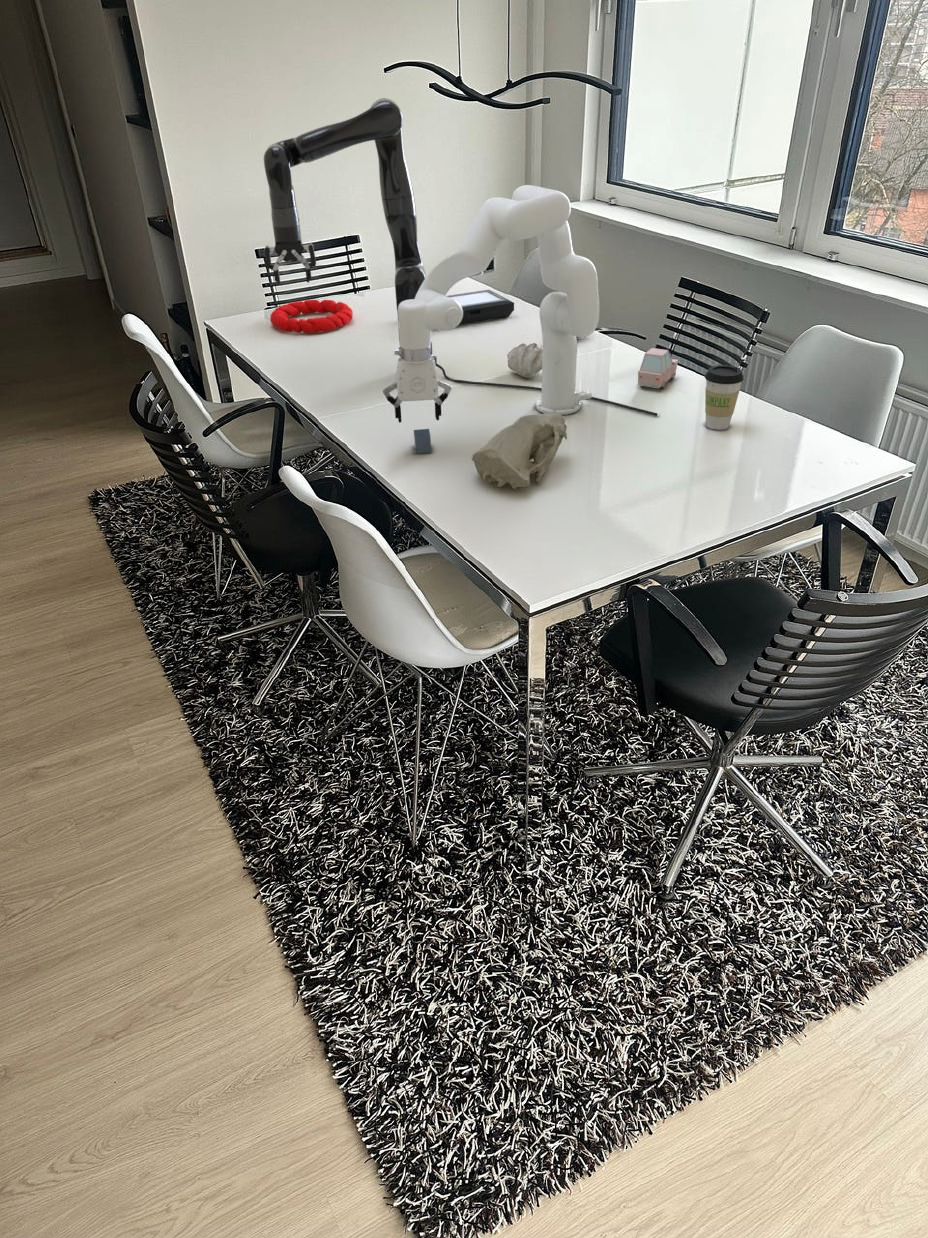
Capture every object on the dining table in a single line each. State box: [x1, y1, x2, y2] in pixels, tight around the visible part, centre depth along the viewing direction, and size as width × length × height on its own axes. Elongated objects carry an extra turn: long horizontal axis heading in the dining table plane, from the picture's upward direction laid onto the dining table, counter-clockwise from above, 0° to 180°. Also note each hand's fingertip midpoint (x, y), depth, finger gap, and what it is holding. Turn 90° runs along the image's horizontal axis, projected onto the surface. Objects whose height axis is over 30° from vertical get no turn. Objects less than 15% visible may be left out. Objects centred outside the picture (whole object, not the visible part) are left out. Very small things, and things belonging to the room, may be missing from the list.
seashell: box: [506, 342, 542, 379], centre depth 273 cm, size 10×15×10 cm
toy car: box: [637, 347, 679, 389], centre depth 265 cm, size 9×15×10 cm, turn 149°
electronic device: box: [446, 289, 515, 326], centre depth 327 cm, size 32×6×20 cm
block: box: [413, 428, 432, 455], centre depth 231 cm, size 5×4×5 cm
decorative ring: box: [269, 299, 354, 334], centre depth 328 cm, size 7×30×30 cm
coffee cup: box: [704, 364, 745, 431], centre depth 235 cm, size 10×10×15 cm
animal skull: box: [471, 412, 568, 490], centre depth 215 cm, size 17×25×20 cm
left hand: (293, 282), depth 262 cm, fingers open, 8 cm apart
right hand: (418, 419), depth 228 cm, fingers open, 9 cm apart
